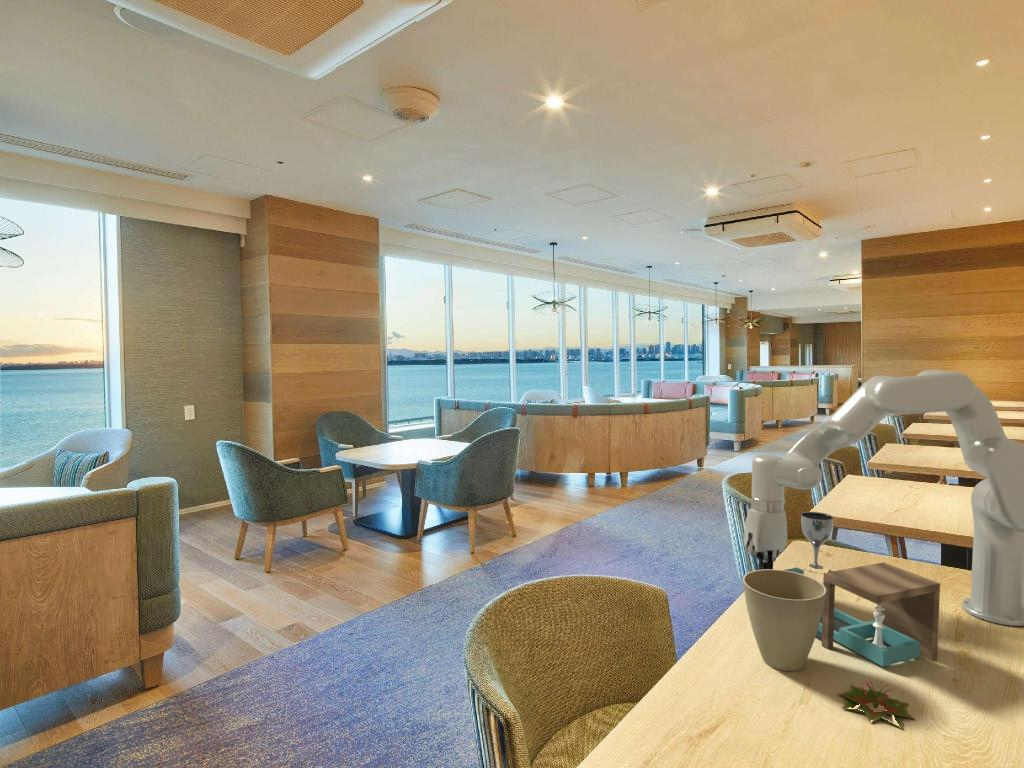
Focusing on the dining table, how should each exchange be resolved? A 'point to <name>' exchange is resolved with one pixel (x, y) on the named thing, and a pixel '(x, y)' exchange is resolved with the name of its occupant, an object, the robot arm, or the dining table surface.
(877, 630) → the chess piece
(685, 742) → the dining table surface
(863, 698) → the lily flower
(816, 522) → the wine glass
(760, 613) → the plant pot
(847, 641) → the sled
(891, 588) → the tunnel
